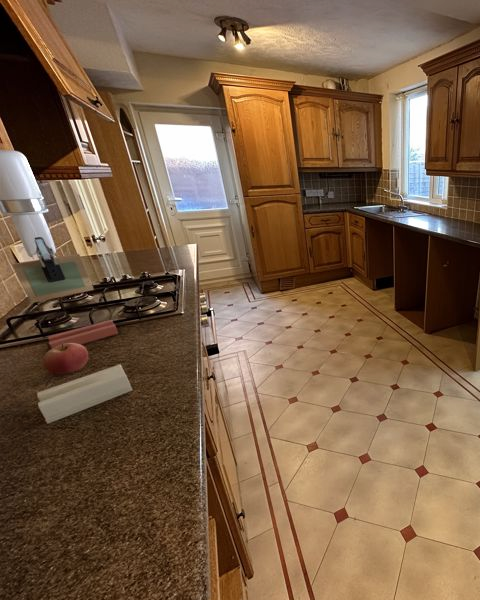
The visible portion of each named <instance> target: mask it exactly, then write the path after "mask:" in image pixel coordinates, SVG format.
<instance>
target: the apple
mask: <svg viewBox="0 0 480 600" xmlns="http://www.w3.org/2000/svg"><path fill="white" fill-rule="evenodd" d="M88 361H89V351H88V349H87V347H85V346H84V345H83V344H76V343H65V344H64V343H62V345H59V346H57V347H55V348H53V349H52V348H50V350H48V351H47V352H46V353H45V354H44V356H43V359H42V364H43V366H44V368H45V369H46V370H47V371H48V372H50V373H51V374H54V375H67V374H70V373H73V372H77V371H79V370H80V369H83V368H84V367H85V366H86V364H87V363H88Z"/></svg>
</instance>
